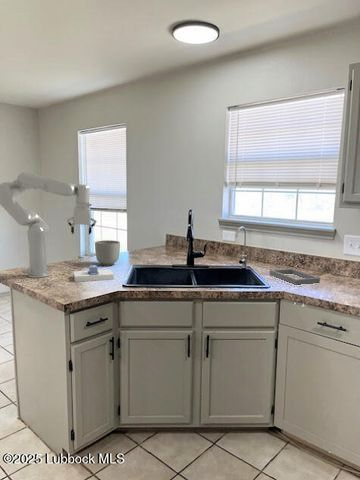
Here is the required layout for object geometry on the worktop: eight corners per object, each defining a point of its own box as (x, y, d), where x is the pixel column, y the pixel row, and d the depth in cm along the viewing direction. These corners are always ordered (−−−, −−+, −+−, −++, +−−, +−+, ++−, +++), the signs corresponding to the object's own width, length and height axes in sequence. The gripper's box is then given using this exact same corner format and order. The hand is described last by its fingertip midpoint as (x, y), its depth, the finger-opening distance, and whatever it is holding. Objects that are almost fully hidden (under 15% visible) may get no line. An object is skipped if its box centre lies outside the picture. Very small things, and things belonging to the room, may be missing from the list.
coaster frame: (295, 286, 210) (296, 280, 209) (269, 275, 235) (269, 269, 234) (319, 284, 216) (320, 278, 215) (291, 274, 240) (291, 268, 240)
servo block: (88, 275, 223) (88, 264, 222) (95, 275, 224) (95, 263, 223) (90, 280, 213) (90, 267, 212) (98, 279, 214) (98, 267, 213)
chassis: (75, 281, 209) (75, 276, 208) (73, 276, 221) (73, 271, 220) (113, 279, 216) (113, 274, 216) (109, 274, 228) (109, 269, 228)
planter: (91, 263, 257) (90, 241, 255) (113, 261, 267) (113, 239, 265) (101, 268, 244) (101, 244, 241) (124, 265, 254) (124, 242, 251)
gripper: (96, 205, 223) (95, 233, 225) (67, 204, 217) (66, 232, 220) (97, 206, 216) (96, 235, 218) (67, 205, 210) (66, 234, 213)
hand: (81, 233), depth 219 cm, fingers open, 9 cm apart
